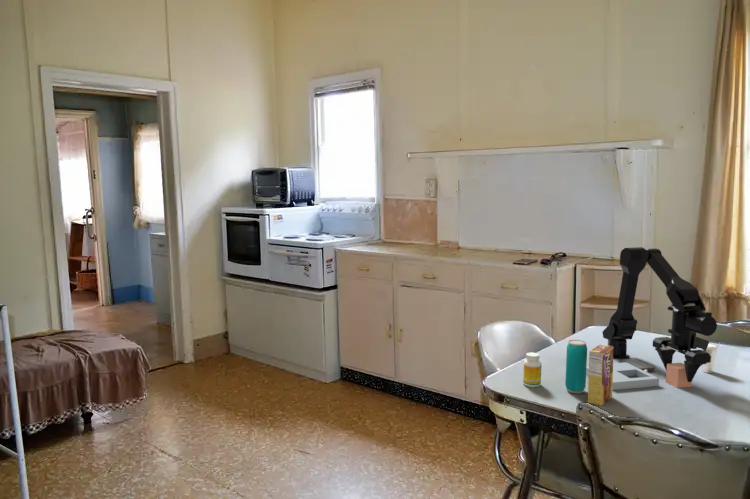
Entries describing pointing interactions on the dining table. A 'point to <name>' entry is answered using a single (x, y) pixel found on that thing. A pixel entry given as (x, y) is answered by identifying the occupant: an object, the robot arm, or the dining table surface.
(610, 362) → the candy box
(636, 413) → the dining table surface
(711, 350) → the milkshake
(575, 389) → the beverage can
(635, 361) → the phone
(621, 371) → the outlet plate
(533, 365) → the supplement bottle
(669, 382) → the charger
